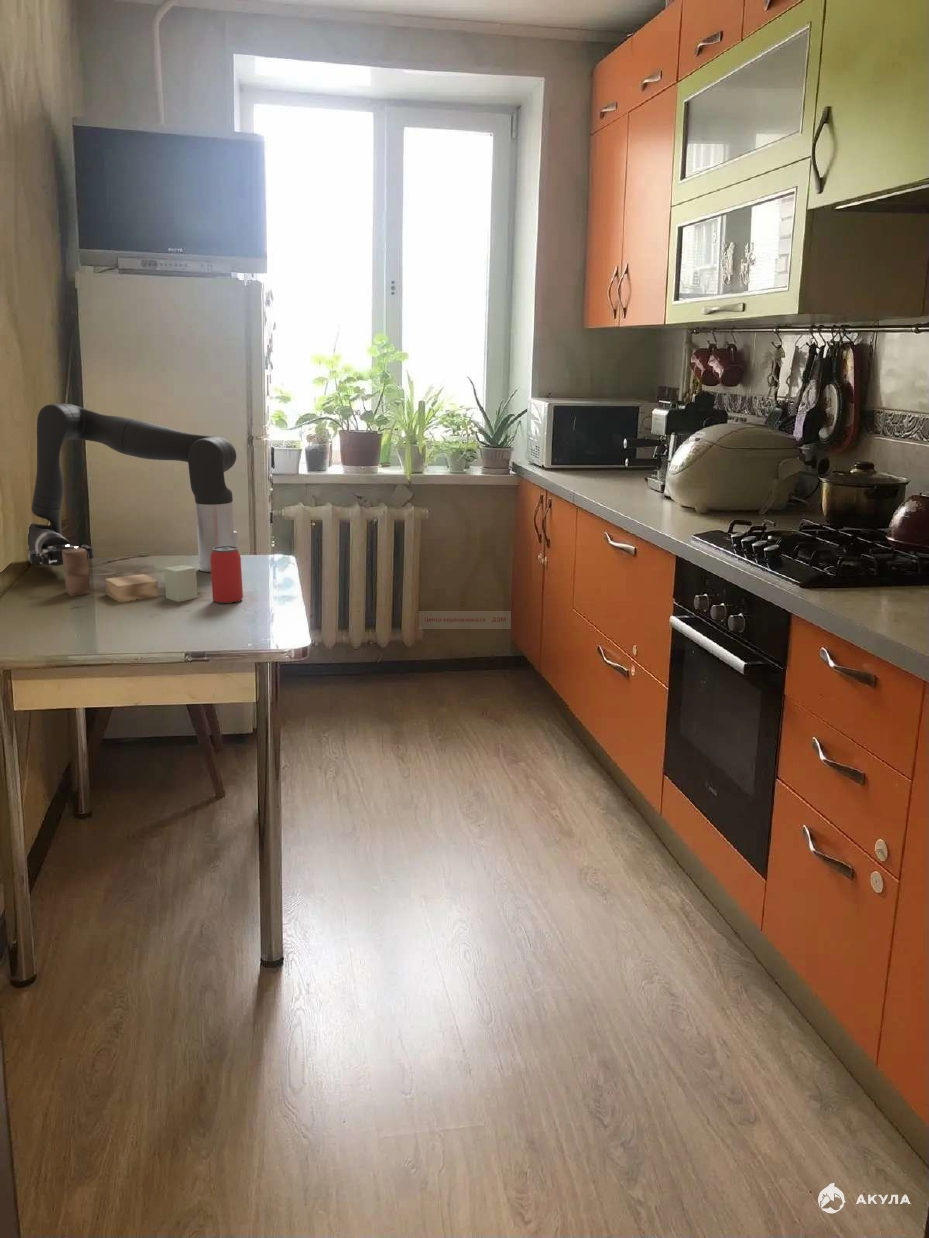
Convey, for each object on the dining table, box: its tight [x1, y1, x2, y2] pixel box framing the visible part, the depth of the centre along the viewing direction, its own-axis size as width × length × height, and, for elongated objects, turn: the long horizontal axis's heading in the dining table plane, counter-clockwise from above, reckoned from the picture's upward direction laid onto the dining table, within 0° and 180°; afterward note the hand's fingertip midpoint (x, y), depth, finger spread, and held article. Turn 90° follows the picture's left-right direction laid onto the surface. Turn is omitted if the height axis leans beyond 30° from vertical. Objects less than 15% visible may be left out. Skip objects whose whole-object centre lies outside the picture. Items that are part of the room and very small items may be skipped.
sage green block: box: [163, 564, 198, 603], centre depth 227 cm, size 5×5×7 cm
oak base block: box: [104, 573, 160, 603], centre depth 229 cm, size 9×9×4 cm
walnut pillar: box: [62, 547, 91, 597], centre depth 231 cm, size 4×4×10 cm
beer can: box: [210, 546, 244, 604], centre depth 224 cm, size 7×7×12 cm
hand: (66, 559), depth 239 cm, fingers open, 8 cm apart
